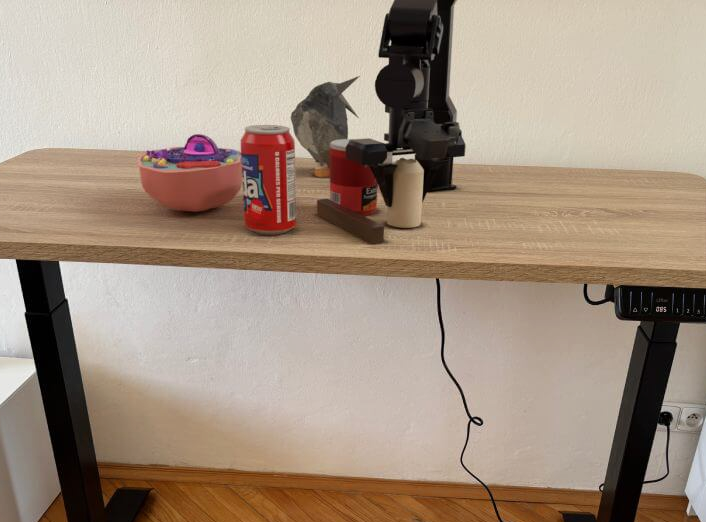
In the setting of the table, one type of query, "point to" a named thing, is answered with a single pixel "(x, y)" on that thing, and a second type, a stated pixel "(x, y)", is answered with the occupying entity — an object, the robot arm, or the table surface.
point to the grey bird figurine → (322, 122)
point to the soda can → (268, 179)
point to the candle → (406, 194)
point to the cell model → (192, 175)
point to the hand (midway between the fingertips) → (404, 204)
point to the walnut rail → (351, 221)
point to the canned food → (351, 181)
